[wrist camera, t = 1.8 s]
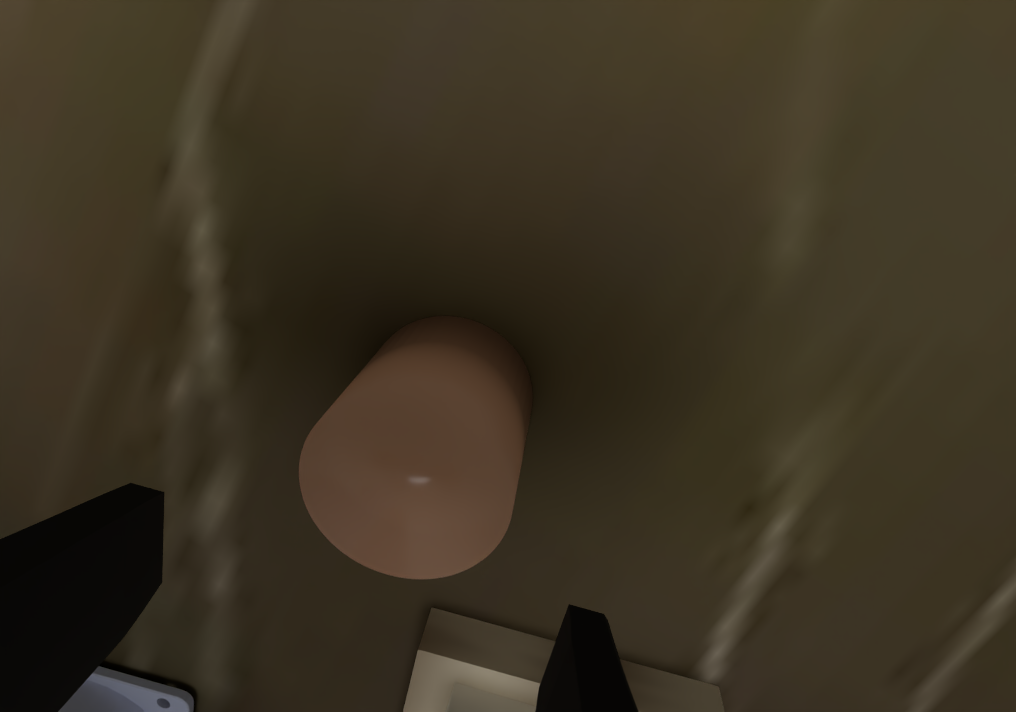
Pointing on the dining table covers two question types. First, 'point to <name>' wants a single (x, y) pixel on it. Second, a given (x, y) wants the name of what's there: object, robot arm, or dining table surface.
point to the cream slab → (483, 701)
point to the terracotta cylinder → (422, 451)
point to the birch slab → (524, 669)
